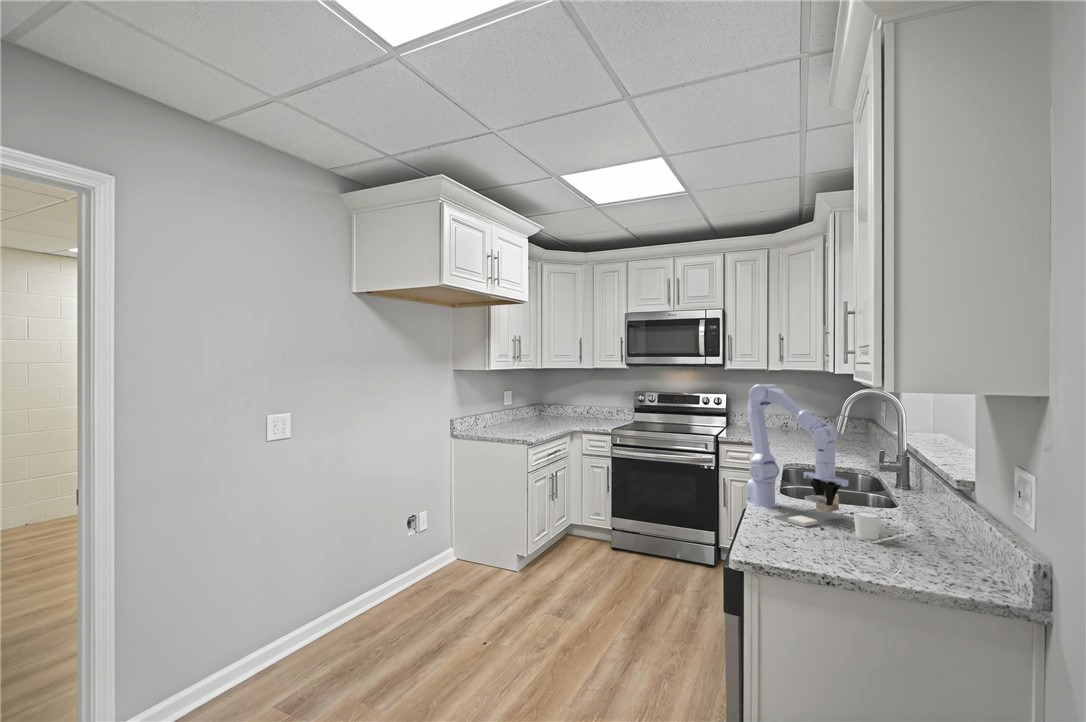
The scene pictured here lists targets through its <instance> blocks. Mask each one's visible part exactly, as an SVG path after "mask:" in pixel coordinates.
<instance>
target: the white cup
mask: <svg viewBox="0 0 1086 722" xmlns="http://www.w3.org/2000/svg"><path fill="white" fill-rule="evenodd" d="M853 518H854V519H853V520H854V530H855V531H854V532H855V536H856V537H858V538H861V539H866V540H872V542H879V538H880V537H879V536H880V530H881V529H880V528H881V520H882V519H881V515H880V514H877V513H873V512H870V511H869V512H867V511H855V512H853Z"/></svg>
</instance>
